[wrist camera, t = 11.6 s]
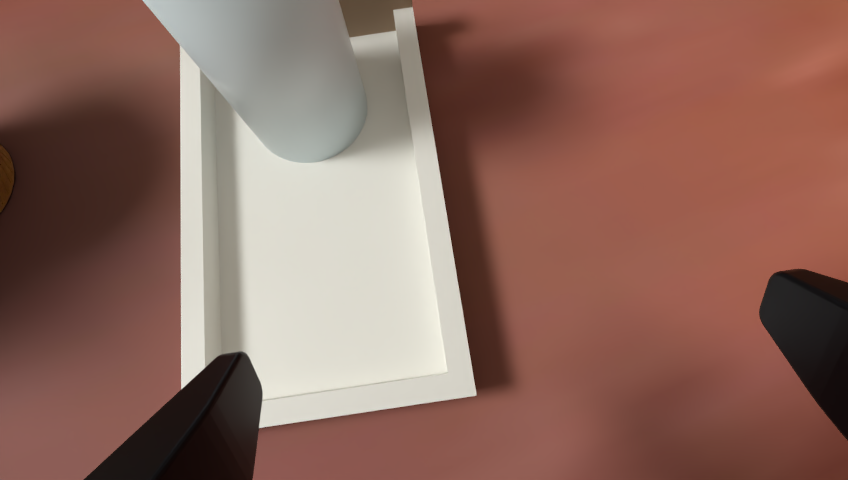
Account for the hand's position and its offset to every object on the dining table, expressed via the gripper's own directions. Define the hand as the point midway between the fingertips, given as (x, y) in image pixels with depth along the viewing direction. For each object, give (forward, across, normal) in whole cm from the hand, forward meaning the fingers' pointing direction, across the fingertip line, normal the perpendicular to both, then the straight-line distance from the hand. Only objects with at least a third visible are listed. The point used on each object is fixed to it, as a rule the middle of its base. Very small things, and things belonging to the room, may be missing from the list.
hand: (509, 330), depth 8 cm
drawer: (+15, +6, +4) cm, 17 cm away
